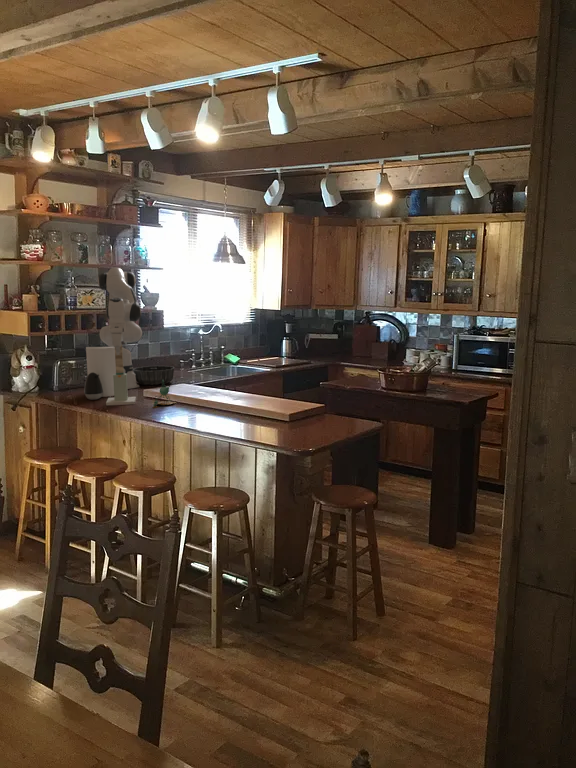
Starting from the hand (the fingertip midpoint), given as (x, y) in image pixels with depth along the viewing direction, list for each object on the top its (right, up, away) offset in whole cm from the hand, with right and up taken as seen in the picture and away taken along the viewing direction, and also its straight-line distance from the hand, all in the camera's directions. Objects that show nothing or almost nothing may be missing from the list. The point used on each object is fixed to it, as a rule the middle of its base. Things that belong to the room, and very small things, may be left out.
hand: (118, 353), depth 372 cm
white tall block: (-16, -23, +31) cm, 41 cm away
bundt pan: (+6, -16, +67) cm, 70 cm away
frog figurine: (+25, -28, -5) cm, 38 cm away
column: (0, -19, +3) cm, 19 cm away
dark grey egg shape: (-18, -25, +15) cm, 34 cm away
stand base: (0, -27, +4) cm, 27 cm away
